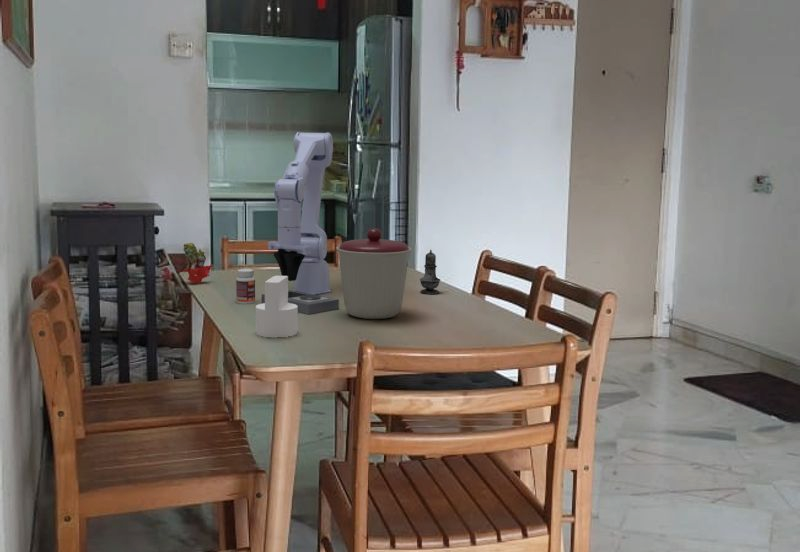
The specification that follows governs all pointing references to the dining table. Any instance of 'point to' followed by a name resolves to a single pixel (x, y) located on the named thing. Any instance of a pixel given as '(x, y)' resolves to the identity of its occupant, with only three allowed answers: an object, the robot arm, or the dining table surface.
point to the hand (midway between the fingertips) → (289, 279)
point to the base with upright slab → (276, 310)
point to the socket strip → (310, 302)
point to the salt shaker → (430, 275)
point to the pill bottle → (245, 286)
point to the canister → (373, 275)
